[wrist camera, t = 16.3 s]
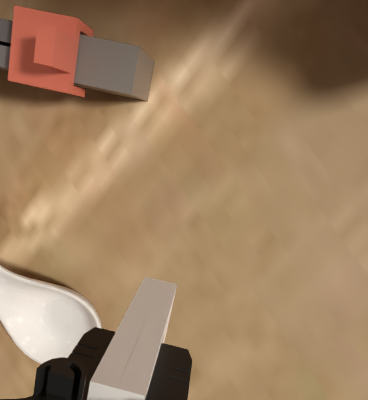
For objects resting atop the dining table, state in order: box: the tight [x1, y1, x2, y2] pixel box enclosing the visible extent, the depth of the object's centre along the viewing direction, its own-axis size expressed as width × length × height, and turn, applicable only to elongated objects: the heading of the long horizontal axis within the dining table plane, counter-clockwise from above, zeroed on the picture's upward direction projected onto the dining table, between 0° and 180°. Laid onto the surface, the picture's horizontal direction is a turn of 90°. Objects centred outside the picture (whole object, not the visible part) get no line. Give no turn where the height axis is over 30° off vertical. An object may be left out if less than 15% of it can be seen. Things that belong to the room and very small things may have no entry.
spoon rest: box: [0, 265, 102, 364], centre depth 43 cm, size 24×12×7 cm, turn 36°
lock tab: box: [8, 5, 94, 97], centre depth 31 cm, size 6×7×8 cm
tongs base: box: [0, 18, 154, 101], centre depth 36 cm, size 32×5×7 cm, turn 78°
